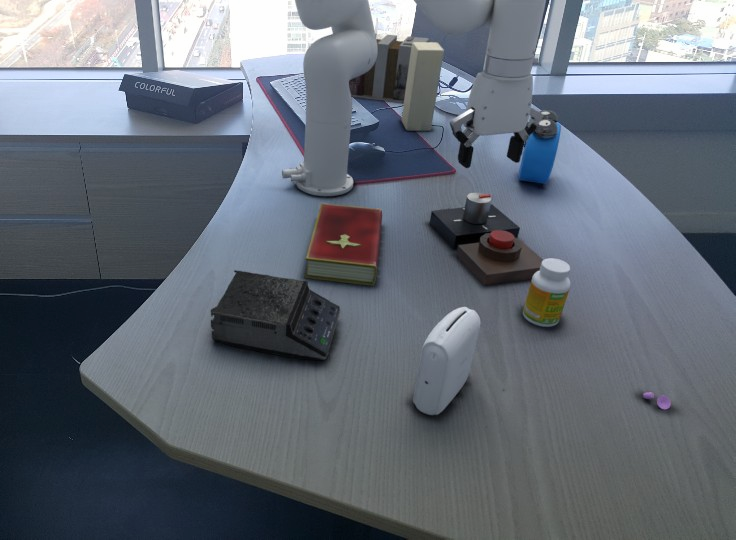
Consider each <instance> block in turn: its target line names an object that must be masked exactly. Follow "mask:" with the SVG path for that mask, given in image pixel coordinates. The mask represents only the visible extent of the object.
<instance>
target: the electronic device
mask: <svg viewBox="0 0 736 540" xmlns="http://www.w3.org/2000/svg"><path fill="white" fill-rule="evenodd" d="M233 272H234V275H233V277H232V279H231V281H230V282H229V284H228V285H227V288H226V290H225V292H224V293H223V294H222V296H221V298H220V300H219V302H218V304H217V305H216V306H215V307H213V308H211V309H210V316H211V317H213V318H212V319H210V327H211V329H212V330H211V339H212V340H213V341H214V342H216V343H222V344H225V345H228V346H232V347H234V348H237V349H244V350H246V349H247V350H251V351H254V352H255V351H256V352H259V353H260V352H261V353H264V354H269V355H270V354H272V355H273V354H274V355H278V356H281V357H285V358H288V359H289V358H295V359H299V360H302V361H303V360H311V361H312V360H314V361H325V360H326V359H327V358H328V355H329V354H330V353H329V351H330V348H331V346H332V343H333V340H334V334H335V331H336V328H337V324H338V320H339V317H340V313H341V307H340V305H338V304H336V303H334V302H332V301H330V300H329V299H328V298H325V297H324V296H323V295H320V294H319V293H316V292H315V291H313V290H312V289H310V286H309V281H307V280H303V279H295V278H288V277H287V278H286V277H281V276H274V275H270V274H262V273H261V274H260V273H255V272H250V271H243V270H236V269H234V270H233Z"/></svg>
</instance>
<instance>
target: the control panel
mask: <svg viewBox="0 0 736 540" xmlns="http://www.w3.org/2000/svg"><path fill="white" fill-rule="evenodd" d="M464 209H465V206H463V207H453V208H446V209H445V208H444V209H434V210H431V211H430V218H429V224H428V225H429V226H431V227H432V229H433V230H435V232H436V233H437V234H438V235H439V236H440V237H441V238H442V239H443V240H444V241H445V243H447V244H448V246H449V247H450V248H451V249H452V250H457V249H458V245H464V244H472V243H479V241H480V237H481V236H483V235H484V234H486V233H491V232H492V231H495V230H503V231H507V232H510V233H511V234H513V235H514V237H515V238H519V234H520V230H521V227H520V226H518V225H517V224H516V223H515V222H514V221H513V220H512V219H510V218H509V217H508V216H507V215H506V214H504V213H503V212H502V211H501V210H500V209H499V208H497V207H496V206H495V205H494V204H492V203H491V205H490V209H489V214H488V218H487V221H486V222H485V223H483V224H472V223H469V222H467V221H465V220H464V219H463V214H464Z"/></svg>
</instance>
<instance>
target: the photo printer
mask: <svg viewBox="0 0 736 540" xmlns="http://www.w3.org/2000/svg"><path fill="white" fill-rule="evenodd" d="M481 322H482V321H481V318H480V316H479V314H478V313H477V311H476V310H475V309H470V308H469V307H467V306H461V307H457V308H456V309H454V310H452V311H450V312H448V314H446V315H444V317H443V318H441V320H440V321H439V322H438V323H437V324H436V325H435V326H434V327H433V329H432V330H431V331H430V333H428V335H427V337H426V338H425V341H424V344H423V345H422V348H421V352H420V358H419V364H418V370H417V375H416V376H417V377H416V381H415V385H414V386H415V387H414V392H413V398H412V403H413V404H414V405H415V407H416V409H417V410H418V411H419V412H421V413H422V414H425V415H428V416H438V415H440V413H442V412H443V411H444V410H446V408H447V407H448V406H449V404H451V402H452V401H453V400H454V398H455V397H456V395H457V394H459V392H460V390H461V389H462V388H463V386H464V385H465V383H466V382H467V380H468V377H469V374H470V371H471V367H472V364H473V359H474V354H475V350H476V345H477V342H478V337H479V333H480V330H481Z"/></svg>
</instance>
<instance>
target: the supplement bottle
mask: <svg viewBox="0 0 736 540" xmlns="http://www.w3.org/2000/svg"><path fill="white" fill-rule="evenodd" d="M570 272H571V266H570V264H569V263H568V262H566V261H564V260H562V259H559V258H554V257H548V258H544V259H543V261H542V263H541V266H540V271H537V272H536V273H535V274H534V275H533V277H532V279H530V284H529V288H528V292H527V295H526V298H525V303H524V306H523V309H522V316H523V318H524V319H525V320H526V321H527V322H529V323H531V324H533V325H535V326H537V327H543V328H549V327H550V328H551V327H554V326H556V325H558V324H559V322H560V320H561V316H562V314H563V310H564V308H565V305H566V301H567V299H568V295H569V292H570V289H571V285H572V284H571V280H570V279H569V275H570Z"/></svg>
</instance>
